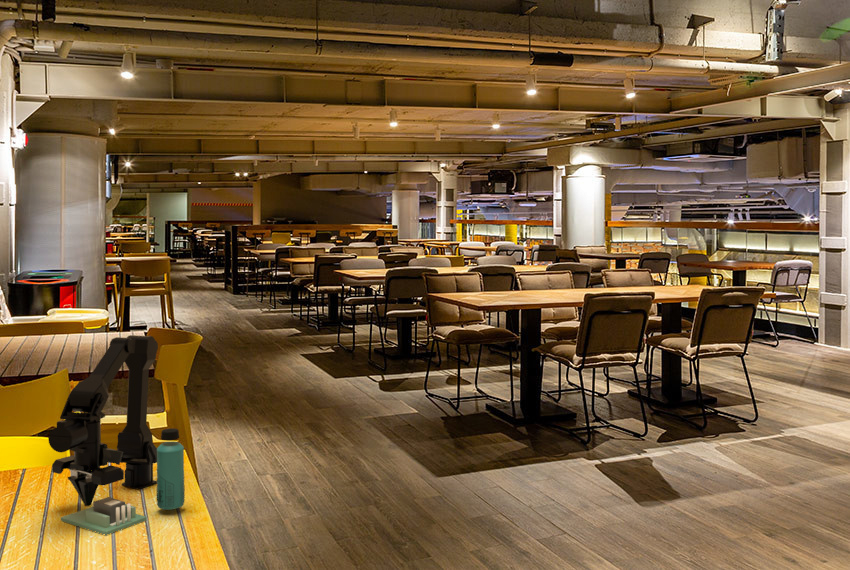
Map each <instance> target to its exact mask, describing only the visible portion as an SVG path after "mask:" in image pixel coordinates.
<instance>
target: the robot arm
mask: <svg viewBox="0 0 850 570" xmlns="http://www.w3.org/2000/svg"><path fill="white" fill-rule="evenodd" d="M158 349H159V344H158V341H157V340H156V339H155V337H154V336H151V335H137V334H136V335H131V334H130V335H127V336H126V337H113V338H112V339H111V340H110V342H109V346H108V348H107V349H106V351H105V352H104V354H103V356H102V357H101V359H100V360H99V361H98V363H97V364H96V366H95V368H94V369H93V371H92V372H91V373H90V375H89V376H88V377H86V378H84V379H82V380H80V381H79V382H78V383H77V384H76V385H75V386H74V387H73V389H71V390H70V393H69V394H68V397H67V398H66V401H65V405H64V407H63V409H62V412H61V413H60V417H59V419H60V420H58V421H57V422H56V427H55V428H53V429H52V430H51V431H50V433H49V435H48V438H47V439H48V444H49V447H50V448H52V450H53V451H56V452H57V453H65V452H67V451H71V452H73V454H74V455H68V456H65V457H61V458H57V459H55V460H54V462H53V463H52V465H51V466H52V467H51V471H52V473H54V474H58V475H60V474H62V473H63V472H64V470H66V469H67V470H69V471H70V476H67V480H68V481H70V483H71V484H72V486H73V487H74V489H75V491H76V492H77V495H78V497H79V498H80V499H81V501H82V503H83V505H84V506H85V507H87V508H89V507H90V506H91V505H93V502H94V497H95V495H96V492H97V489H98V487H99V486H107V485H110V484H113V483H116V482H119V481H123V480H124V482H122V483H121V486H124V487H127V488H131V489H134V490H135V489H136V490H140V489H144V488H146V487H150V486H152V485H153V486H154V485H157V483H156V482H157V480H154V464H157V448H158V447H156V445H155V444H154V441H153V433H152V431H151V430H150V428H149V426H148V425H147V420H148V419H147V417H148V416H147V415H148V400H149V399H148V398H149V396H148V395H149V394H148V393H149V373H150V369H151V367H152V365H153V364H155V363H154V362H155V361H156V358H157V352H158ZM124 364H125V365H126V368H128V380H127V381H128V383H127V384H128V385H127V404H126V405H127V406H126V425H125V427H124V428H123V429H122V431H119V432H118V434H117V445H116V449H113V448H108V444H107V443H104V442H102V441H101V440H102V439H101V436H102V435H101V433H102V431H101V430H102V429H101V428H102V426H101V425H102V424H101V423H102V421H101V419H103V418H106V414H105V413H104V412H102V411H103V409H104V408H105V406H106V404H107V401H108V399H109V397H110V396H109V395H110V393H109V387H110V385H111V384H112V382H113V380H114V378H115V377H116V375H117V374H118V372H120V370H121V367H122V366H123V365H124ZM108 463H109V464H116V465H118V466H115V465H108ZM123 463H124V464H125V470H124V469H123V468H121V467H119V465H120V464H123Z"/></svg>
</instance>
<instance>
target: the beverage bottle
mask: <svg viewBox="0 0 850 570" xmlns="http://www.w3.org/2000/svg"><path fill="white" fill-rule="evenodd" d="M179 432H180V431H179V429H177V428H165V429H164V428H163V429H162V430H161V436H160V439H161V440H162V441H165V442H162V443H161V444H160V445H158V447H156V448H157V463H156V481H157V482H156V493H155V494H156V506H157V508H159V509H161V510H174V509H176V510H177V509H180V508H181V507H183V506H184V505H185V500H186V499H185V498H186V496H185V495H186V494H185V492H186V490H185V489H186V485H185V478H186V477H185V465H184V464H185V462H184V461H185V460H184V459H185V458H184V456H185V454H184V453H185V447H184V445H182V444H181V443H180V442H178V441H175V440H178V439H180V434H179Z"/></svg>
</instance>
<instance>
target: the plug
mask: <svg viewBox="0 0 850 570" xmlns="http://www.w3.org/2000/svg"><path fill="white" fill-rule="evenodd" d="M125 504H126V502H125V501H124V500H121V499H116V498H113V497H109V496H107V497H105V498H104V497H103V498H101V499H98V500H95V501H94V500H93V501H92V505H93V506H92V507H93V511H95V512H98V513H101V514H104V515H108V516H110V524H112V523H114V522H116V508H117V507H120V520H122V518H121V506H122V505H125Z"/></svg>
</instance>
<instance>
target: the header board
mask: <svg viewBox="0 0 850 570" xmlns="http://www.w3.org/2000/svg"><path fill="white" fill-rule="evenodd" d="M136 508H137V507H136V506H133V505H132V503H129V502H128V503H125V505H122V506H121V518H122V520H120V507H117V508H116V522H114V523H112V524H110V516H108V515H104V514H101V513H98V512H95V511H93V506H91V507H90V506H89V507H87V508H85V509H81V510H78V511H75V512H73V513H69V514H67V515H63V516H60V522H64V523H66V524H70V525H73V526H75V527H78V526H79V527H78V528H81V527H82V528H83V529H84V528H86V529H85V530H87V529H89V530H88V531H90V530H92V531H91V532H94V531H96V532H95V533H97V532H99V533H98V534H100V533H102V534H101V535H103V534H105V535H104V536H108V535H107V534H109V535H111V534H110V533H112V534H114V533H116V532H115V531H117V532H119V531H122V530H124V529H123V528H125V529H127V528H130V527H132V526H131V525H133V526H134V524H135V525H138V524H140V522H141V523H143V522H146V521H147V519H148V516H145V515H141V514H138V513H137V512H136V510H137V509H136ZM137 523H138V524H137ZM129 526H130V527H129ZM126 527H127V528H126ZM121 529H122V530H121ZM118 530H119V531H118ZM113 532H114V533H113Z"/></svg>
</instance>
